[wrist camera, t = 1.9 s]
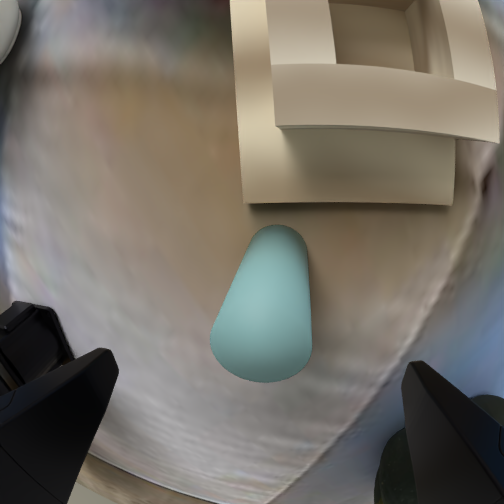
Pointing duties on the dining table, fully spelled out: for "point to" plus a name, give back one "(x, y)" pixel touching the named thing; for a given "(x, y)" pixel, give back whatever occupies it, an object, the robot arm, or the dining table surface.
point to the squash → (400, 464)
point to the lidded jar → (8, 26)
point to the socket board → (330, 150)
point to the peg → (267, 310)
